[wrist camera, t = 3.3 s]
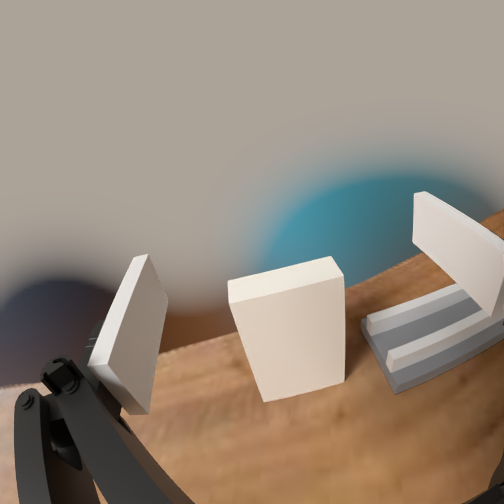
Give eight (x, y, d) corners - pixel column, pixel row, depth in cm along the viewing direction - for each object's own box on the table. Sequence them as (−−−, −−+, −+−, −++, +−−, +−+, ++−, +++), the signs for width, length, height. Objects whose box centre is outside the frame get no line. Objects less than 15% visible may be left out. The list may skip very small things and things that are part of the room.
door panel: (334, 357, 36) (328, 252, 28) (344, 381, 32) (343, 275, 24) (259, 375, 36) (227, 276, 28) (263, 402, 32) (228, 303, 24)
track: (479, 283, 38) (485, 261, 36) (521, 326, 28) (531, 303, 26) (360, 329, 39) (361, 305, 37) (394, 394, 28) (400, 373, 26)
